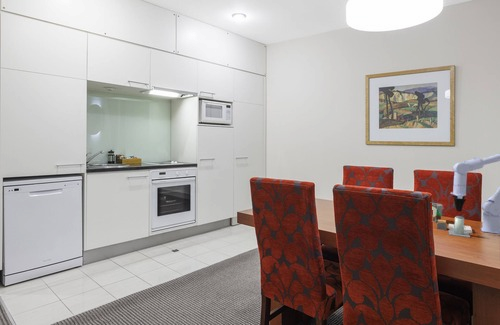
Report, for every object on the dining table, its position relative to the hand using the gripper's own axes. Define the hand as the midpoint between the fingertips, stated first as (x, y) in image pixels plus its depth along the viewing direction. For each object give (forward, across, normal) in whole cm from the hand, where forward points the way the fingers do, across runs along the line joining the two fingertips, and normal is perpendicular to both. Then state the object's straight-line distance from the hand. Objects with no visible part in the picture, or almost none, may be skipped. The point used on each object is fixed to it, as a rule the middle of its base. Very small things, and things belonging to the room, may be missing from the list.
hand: (458, 210), depth 175 cm
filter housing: (+10, +1, -2) cm, 11 cm away
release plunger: (+10, +4, -7) cm, 13 cm away
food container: (+11, -16, -10) cm, 22 cm away
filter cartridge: (+10, +12, 0) cm, 16 cm away
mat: (+10, +12, 0) cm, 16 cm away
